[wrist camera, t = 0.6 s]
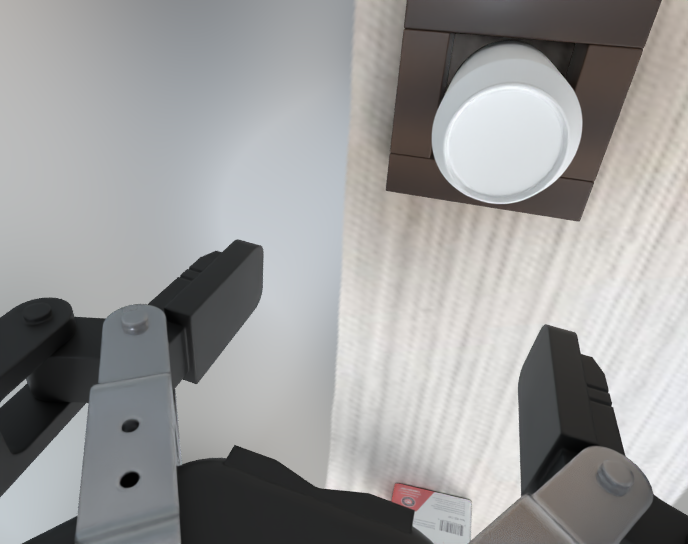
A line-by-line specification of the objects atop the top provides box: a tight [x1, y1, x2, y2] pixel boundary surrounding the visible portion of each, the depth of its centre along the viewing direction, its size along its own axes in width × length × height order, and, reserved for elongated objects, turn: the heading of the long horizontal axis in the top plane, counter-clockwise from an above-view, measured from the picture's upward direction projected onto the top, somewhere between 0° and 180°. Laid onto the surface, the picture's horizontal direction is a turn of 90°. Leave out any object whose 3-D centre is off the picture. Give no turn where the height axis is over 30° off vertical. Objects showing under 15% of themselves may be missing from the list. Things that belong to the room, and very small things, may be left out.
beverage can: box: [432, 40, 582, 204], centre depth 23 cm, size 6×6×12 cm
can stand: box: [386, 0, 662, 221], centre depth 27 cm, size 12×12×4 cm
